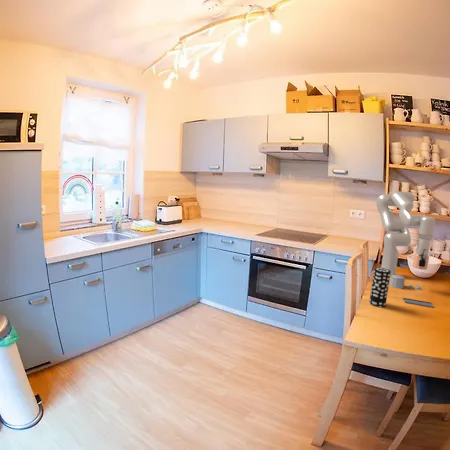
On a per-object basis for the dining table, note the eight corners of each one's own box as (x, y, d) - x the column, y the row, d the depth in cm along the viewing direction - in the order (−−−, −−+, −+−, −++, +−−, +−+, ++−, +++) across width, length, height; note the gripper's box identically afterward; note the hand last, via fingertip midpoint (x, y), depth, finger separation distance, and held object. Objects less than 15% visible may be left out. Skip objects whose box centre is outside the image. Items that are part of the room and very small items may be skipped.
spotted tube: (382, 301, 184) (387, 268, 181) (388, 307, 176) (393, 272, 173) (367, 300, 185) (371, 266, 182) (372, 306, 177) (377, 271, 174)
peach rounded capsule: (413, 268, 198) (415, 255, 197) (411, 264, 205) (413, 252, 204) (428, 270, 196) (430, 257, 194) (425, 266, 203) (427, 254, 201)
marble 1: (409, 287, 204) (406, 285, 207) (410, 291, 205) (407, 289, 208) (414, 285, 204) (410, 283, 207) (415, 289, 205) (411, 287, 208)
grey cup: (390, 289, 205) (392, 277, 204) (389, 285, 212) (390, 273, 211) (403, 291, 202) (405, 279, 201) (402, 287, 209) (404, 275, 208)
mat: (405, 302, 185) (405, 301, 184) (401, 293, 199) (401, 292, 199) (433, 307, 180) (433, 306, 179) (427, 297, 194) (427, 296, 194)
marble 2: (416, 287, 203) (415, 285, 206) (415, 291, 204) (414, 289, 207) (422, 288, 202) (420, 285, 205) (420, 292, 203) (419, 290, 206)
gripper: (415, 233, 206) (411, 260, 209) (420, 238, 190) (415, 267, 193) (429, 235, 204) (424, 262, 207) (435, 240, 188) (430, 269, 191)
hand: (420, 264), depth 200 cm, fingers closed on peach rounded capsule, 7 cm apart
